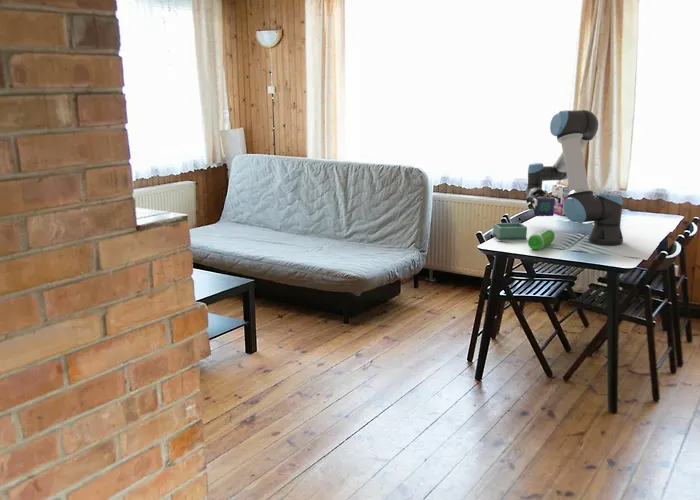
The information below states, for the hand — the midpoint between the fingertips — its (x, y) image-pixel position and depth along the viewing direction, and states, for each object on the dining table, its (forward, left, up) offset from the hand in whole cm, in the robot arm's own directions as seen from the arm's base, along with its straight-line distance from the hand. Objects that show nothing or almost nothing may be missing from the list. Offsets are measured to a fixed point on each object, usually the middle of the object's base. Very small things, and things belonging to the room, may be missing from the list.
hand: (546, 203), depth 317 cm
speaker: (-16, +8, -18) cm, 25 cm away
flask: (+4, -1, -7) cm, 9 cm away
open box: (+4, +16, -17) cm, 24 cm away
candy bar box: (+57, -31, -18) cm, 68 cm away
